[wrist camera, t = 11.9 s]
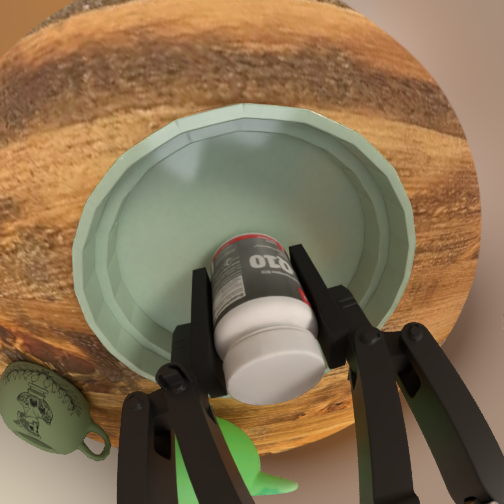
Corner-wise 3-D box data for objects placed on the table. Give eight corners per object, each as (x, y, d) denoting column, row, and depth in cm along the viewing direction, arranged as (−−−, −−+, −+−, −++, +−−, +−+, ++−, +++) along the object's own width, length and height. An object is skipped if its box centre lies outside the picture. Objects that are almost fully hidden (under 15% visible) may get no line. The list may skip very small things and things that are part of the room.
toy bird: (135, 376, 24) (128, 514, 11) (281, 397, 29) (311, 507, 17) (125, 431, 31) (123, 515, 19) (228, 444, 37) (240, 521, 24)
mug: (9, 380, 23) (-6, 428, 16) (6, 336, 19) (-20, 398, 12) (103, 425, 30) (98, 475, 23) (129, 397, 26) (123, 464, 18)
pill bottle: (301, 254, 17) (358, 361, 10) (254, 304, 19) (282, 414, 12) (241, 214, 15) (274, 328, 8) (195, 274, 17) (195, 396, 10)
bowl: (367, 88, 13) (420, 91, 9) (366, 314, 24) (390, 354, 19) (59, 163, 13) (14, 191, 9) (165, 364, 23) (163, 411, 19)
